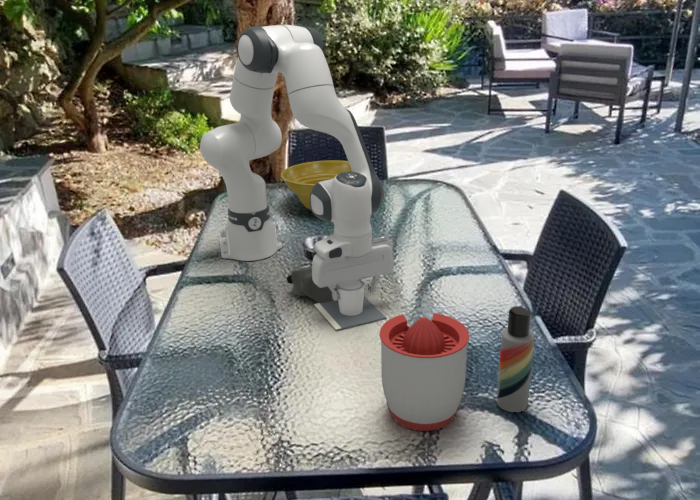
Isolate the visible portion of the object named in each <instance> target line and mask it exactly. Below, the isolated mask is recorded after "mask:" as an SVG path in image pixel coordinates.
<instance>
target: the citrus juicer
mask: <svg viewBox="0 0 700 500" xmlns="http://www.w3.org/2000/svg"><path fill="white" fill-rule="evenodd" d="M379 338H380V343H381V344H380V345H381V346H380V347H381V348H380V350H381V352H380V355H381V356H380V357H381V358H380V359H381V360H380V361H381V367H380V368H381V371H380V373H381V385H382V389H383V391H382V392H383V395H384V398H385V400H386V405H387V407H388V410H389V412H390V415H391V416H392V418H393V419H394V420H395V421H396V422H397V423H398V424H399V425H401V426H402V427H405V428H407V429H410V430H413V431H420V432H429V431H436V430H440V429H441V428H445V427H446V426H447V425H448V424H450V423H451V422H452V420H453V419H454V417H455V415H456V413H457V412H458V410H459V408H460V407H459V406H460V404H461V401H462V398H463V395H464V391H465V385H466V378H467V377H466V376H467V359H468V357H467V355H468V343H469V341H470V333H469V330H468V329H467V328H466V326H465V325H464V324H463V323H462V322H461V321H459V320H457V319H456V318H454V317H451V316H449V315H446V314H441V313H436V312H434V313H433V314H432V318H431V319H429V318H428V317H425V316H422V317H421V318H419V319H418V320H416V321H415V322H414V323H413V324H412V325H410V326H409V325H408V320H407V318H406V316H405V315H404V314H399V315H396V316H394V317H391V318H390V319H388V320H387V321H385V322H384V324H383V325H381V327H380V330H379Z"/></svg>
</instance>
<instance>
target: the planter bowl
mask: <svg viewBox="0 0 700 500" xmlns="http://www.w3.org/2000/svg"><path fill="white" fill-rule="evenodd" d="M347 171H352V170H351V167H350V164H349V162H348V160H338V159H337V160H336V159H334V160H317V161H316V160H314V161H307V162H303V163H299V164H295V165H292V166H289V167H287V168H285V169H284V170H282V171H281V173H280V178H282V179H283V181H285V184H286V186H287V187H288V190H290V191H292V192H294V193H295V194H296V196H297V197H298V199H299V201H300V202H301V204H302V205H303V206H304V208H305V209H309V210H310V211H311V208H310V193H311V190H312V188H313V186H314V185H315V184H316V183H319V182H321V181H325V180H330V179H333V178H335V176H336V175H337V174H339V173H342V172H347Z"/></svg>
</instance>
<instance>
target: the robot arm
mask: <svg viewBox="0 0 700 500" xmlns="http://www.w3.org/2000/svg"><path fill="white" fill-rule="evenodd" d="M323 43H324V42H323V38H322V36H321V34H320V32H319V31H318V30H316V29H315V28H313V27H310V26H306V25H294V24H293V25H292V24H278V25H267V26H266V25H264V26H260V25H256V26H251V27H248V28H246V29H243V31H242V32H241V33H240V35H239V37H238V40H237V45H236V49H237V50H236V51H237V52H236V53H237V60H236V63H235V66H234V72H233V76H232V77H233V78H232V83H231V89H230V95H229V102H230V104H231V107H233V110H234V111H235V112H237V113H238V114H239V115H240V117H239V120H238V121H237V122H234V123H228V124H225V125H221V126H217V127H214V128H213V129H210V130H209V131H207V132H206V133H204V134H203V135H202V137H201V139H200V143H199V149H200V153H201V157H202V158H203V159H204V161H205V162H206V163H207V164H208V165H209V166H211V167H213V168H214V169H216V170H217V171H218V172H219V174H220V175H221V177H222V179H223V181H224V184H225V188H226V194H227V201H228V209H227V219H228V220H227V222H226V223H225V225H224V227H225V229H220V231H219V233H220V238H219V249H220V256H221V258H222V259H230V260H231V259H232V260H236V261H245V262H249V261H259V260H264V259H266V258H268V257H272V256H273V255H275V253H276V252H278V250H280V249H282V248H283V243H282V242H281V241H279V240H278V236H277V235H278V234H277V229H276V222H274V221H273V220H272V219H270V213H271V212H270V211H271V210H270V206H269V204H268V197H267V188H266V187H267V186H266V181H265V179H264V178H263V177H262V176H260V175H259V174H257V173H255V172H252V169H251V167H250V161H254V160H256V159H260V158H263V157H267V156H269V155H270V154H273V153H274V152H275V151H276V152H277V150H278V149H279V148H280V147H281V145H282V143H283V141H282V140H283V136H282V135H283V134H282V130H281V128H280V126H279V125H278V123H277V122H276V121H275V120H274V119H273V117H272V103H273V99H274V98H273V97H274V93H275V87H276V85H277V84H276V83H277V79H278V73H280V74H281V75H282V76H283V78H284V81H285V87H286V93H287V97H288V103H289V107H290V110H291V113H292V116H293V117H294V119H295V120H296V121H297V122H298V123H300V125H302V126H303V127H305V128H307V129H309V130H313V131H316V132H320V133H324V134H327V135H330V136H332V137H334V138H335V139H336V140H338V141H339V142H340V144H341V145H342V148H343V151H344V153H345V155H346V156H345V157H346V158H347V161H348V162H349V164H350V167H351V170H352V171H347V172H342V173H339V174H337V175H336V176H335V178H333V179H330V180H325V181H321V182H319V183H316V184H315V185H314V186H313V188H312V190H311V193H310V208H311V210H310V211H311V214H312V215H314V216H315V217H317V218H318V219H319V220H322V221H324V222H326V223H330V222H332V223H333V224H334V227H333V233H331V234H329V235H328V236H326V237H325V238H322V239H320V240H319V241H317V242H316V243H314V250H315V252H316V253H315V254H314V256H313V259H312V263H311V264H312V265H311V267H312V280H313V282H314V283H315V284H316V285H317V286H318V287H320V288H322V287H327V286H328V288H329V289H330V290H331V292H332V298H333V300H334V301H336V300H340V294H339V293H338V292H337V291H335V290H334V288H336V284H341V283H345V282H350V281H355V280H359V279H361V280H363V279H368V278H372V279H371V281H370V283H367V291H368V292H369V294H371V293H376V292H377V285H378V284H379V283H380V280H381V276H382V275H388V274H391V273H392V272H393V271H394V269H395V260H394V254H393V253H394V252H393V248H394V241H393V239H392V238H391V237H389V236H387V235H383V236H379V237H373V227H372V225H371V216H372V214H375V212H377V211H378V210H379V208H380V207H381V205H382V204H383V201H384V198H385V191H384V186H383V184H382V181H381V180H380V178H379V176H378V174H377V173H376V170H375V169H374V168H375V167H374V165H373V163H372V160H371V157H370V155H369V153H368V150H367V147H366V144H365V142H364V138H363V135H362V134H361V131H360V128H359V125H358V123H357V121H356V119H355V117H354V115H353V113H352V112H351V110H349V109H348V108H345V106H344V105H343V103H342V102H341V101H340V100H339V97H338V96H337V93H336V89H335V86H334V82H333V78H332V74H331V69H330V67H329V64H328V62H327V58H326V56H325V55H324V44H323Z"/></svg>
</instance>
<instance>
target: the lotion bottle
mask: <svg viewBox="0 0 700 500" xmlns="http://www.w3.org/2000/svg"><path fill="white" fill-rule="evenodd" d="M531 317H532V312H531V311H530V310H528V309H527V308H526V307H524V306H520V305H519V306H518V305H517V306H515V305H514V306H513V307H510V308H509V310H508V318H507V319H508V320H507V327H506V328H504V329H503V330H502V332H501V336H500V337H501V338H500V339H501V341H500V352H499V364H498V365H499V366H498V377H497V378H498V380H497V390H496V391H497V393H496V403H497V405H498V407H499V408H500V409H501V410H503V411H505V412H508V413H513V412H517V413H521V411H522V412H524V411H525V410H526V409H527V408H528V404H529V397H530V389H531V388H530V387H531V386H530V385H531V376H532V367H533V366H532V364H533V356H534V348H535V347H534V344H535V334H534V333H533V331H531V330H530V328H531ZM523 410H524V411H523Z"/></svg>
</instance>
